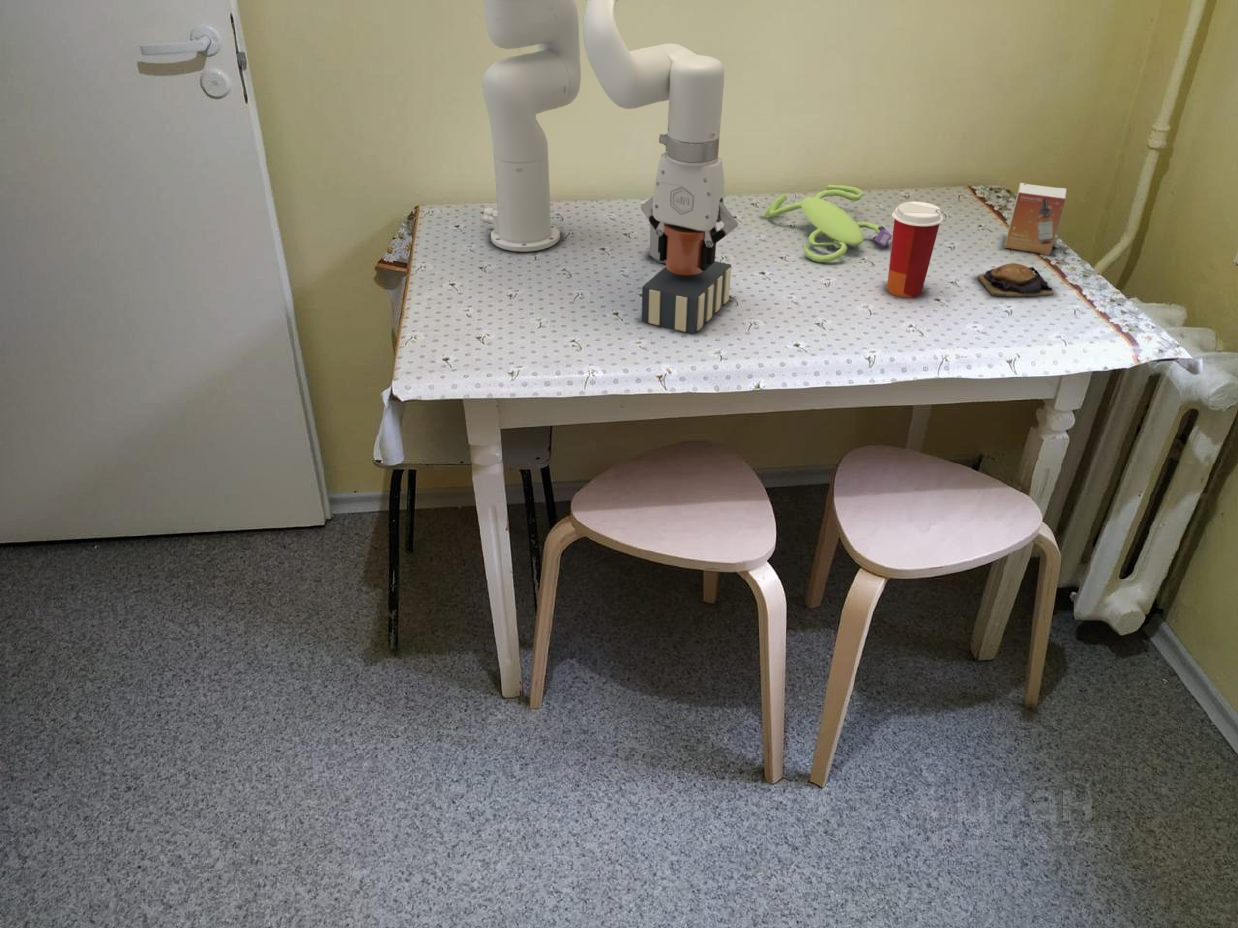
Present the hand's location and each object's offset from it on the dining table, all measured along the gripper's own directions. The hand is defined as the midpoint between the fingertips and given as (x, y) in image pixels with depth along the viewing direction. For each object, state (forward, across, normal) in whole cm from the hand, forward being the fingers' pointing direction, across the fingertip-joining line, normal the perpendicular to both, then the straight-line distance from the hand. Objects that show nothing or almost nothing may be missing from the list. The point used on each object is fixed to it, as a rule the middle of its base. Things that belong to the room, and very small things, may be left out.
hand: (685, 261), depth 154 cm
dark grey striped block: (+8, +1, 0) cm, 8 cm away
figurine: (+8, +11, +41) cm, 43 cm away
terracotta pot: (+1, 0, 0) cm, 1 cm away
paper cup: (+8, +30, +23) cm, 39 cm away
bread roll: (+8, +46, +33) cm, 57 cm away
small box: (+8, +45, +52) cm, 69 cm away
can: (+9, -10, +17) cm, 22 cm away
